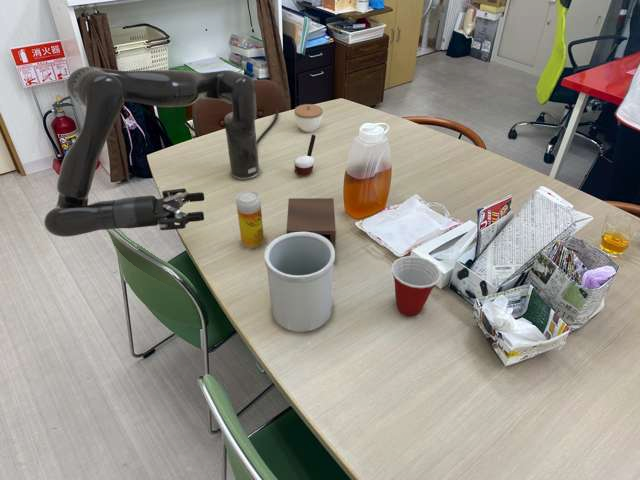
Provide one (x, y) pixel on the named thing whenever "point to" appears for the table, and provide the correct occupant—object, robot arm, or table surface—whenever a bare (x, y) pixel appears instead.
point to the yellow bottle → (250, 218)
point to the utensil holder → (300, 280)
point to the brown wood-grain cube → (312, 217)
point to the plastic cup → (413, 283)
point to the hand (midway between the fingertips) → (203, 205)
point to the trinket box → (308, 117)
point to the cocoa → (305, 161)
